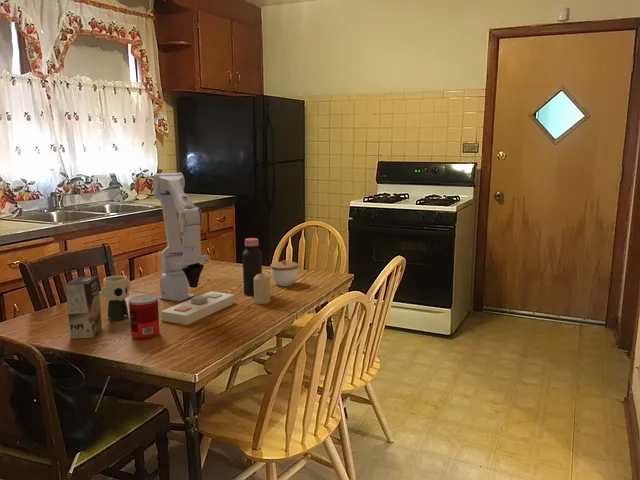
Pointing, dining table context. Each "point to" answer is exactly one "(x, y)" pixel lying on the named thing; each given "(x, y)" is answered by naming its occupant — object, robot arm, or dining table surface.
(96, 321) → the coffee box
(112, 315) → the character mug
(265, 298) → the candle
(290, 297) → the dining table surface
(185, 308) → the terracotta button
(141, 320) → the canned food
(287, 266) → the lidded jar
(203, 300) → the slate button
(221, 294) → the sage button
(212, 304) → the button panel
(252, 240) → the bottle
